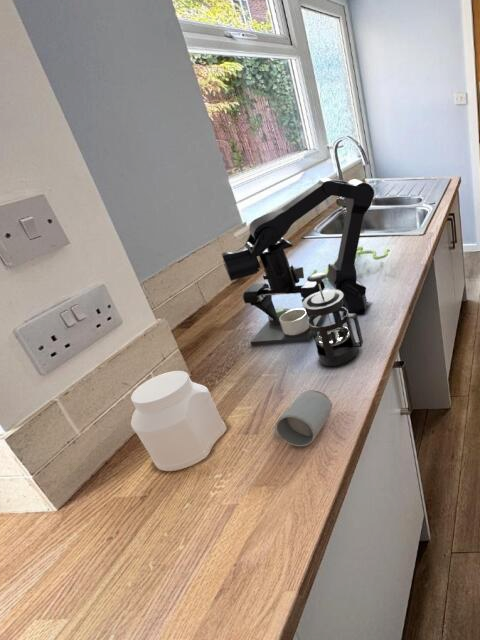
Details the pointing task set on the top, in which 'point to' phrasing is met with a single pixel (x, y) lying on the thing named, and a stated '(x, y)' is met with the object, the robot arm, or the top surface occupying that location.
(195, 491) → the top surface
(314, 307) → the french press
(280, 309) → the button
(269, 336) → the scale
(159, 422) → the jar
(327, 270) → the figurine
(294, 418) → the ceramic mug
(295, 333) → the cup
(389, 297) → the top surface
